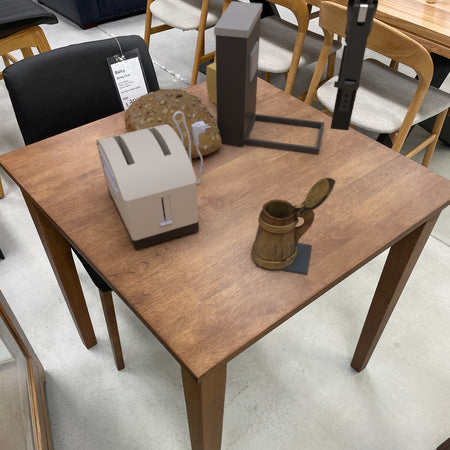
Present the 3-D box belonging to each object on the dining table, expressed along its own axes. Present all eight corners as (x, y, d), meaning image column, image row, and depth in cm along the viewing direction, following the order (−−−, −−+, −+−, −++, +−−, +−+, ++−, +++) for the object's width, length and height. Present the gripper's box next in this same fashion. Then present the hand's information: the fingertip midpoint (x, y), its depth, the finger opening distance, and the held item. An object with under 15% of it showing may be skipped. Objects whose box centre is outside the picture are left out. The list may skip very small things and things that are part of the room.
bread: (119, 130, 119) (110, 85, 109) (191, 112, 125) (188, 68, 116) (151, 177, 105) (144, 131, 96) (230, 154, 111) (230, 109, 102)
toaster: (105, 190, 102) (86, 120, 88) (204, 165, 108) (201, 95, 95) (134, 255, 89) (117, 183, 75) (244, 221, 95) (248, 150, 82)
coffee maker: (324, 124, 121) (345, 10, 99) (317, 157, 110) (339, 38, 89) (230, 113, 125) (231, 1, 103) (216, 144, 114) (214, 27, 93)
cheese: (232, 89, 134) (232, 54, 126) (257, 102, 128) (258, 66, 121) (206, 100, 129) (205, 65, 121) (231, 114, 124) (231, 78, 116)
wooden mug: (319, 272, 85) (338, 196, 71) (250, 268, 85) (255, 192, 71) (317, 240, 90) (334, 164, 76) (251, 237, 91) (256, 161, 77)
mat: (311, 247, 90) (311, 245, 90) (306, 275, 85) (307, 272, 85) (263, 239, 91) (263, 237, 91) (256, 266, 87) (256, 264, 86)
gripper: (348, -82, 63) (325, 71, 79) (337, -30, 48) (311, 145, 64) (402, -80, 62) (367, 74, 78) (409, -27, 47) (363, 151, 63)
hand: (342, 107), depth 71 cm, fingers open, 13 cm apart
